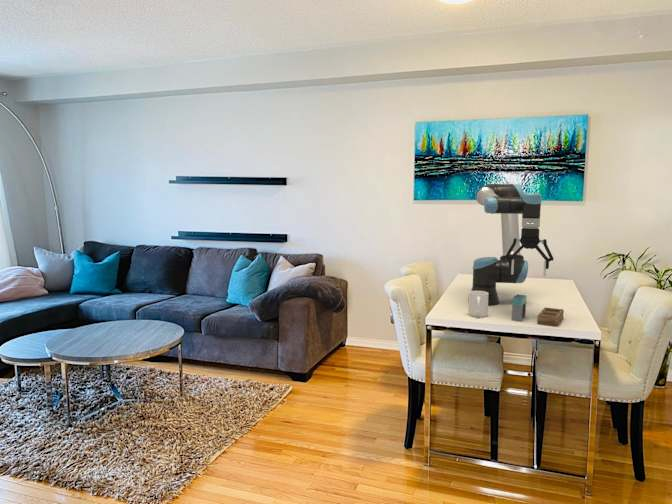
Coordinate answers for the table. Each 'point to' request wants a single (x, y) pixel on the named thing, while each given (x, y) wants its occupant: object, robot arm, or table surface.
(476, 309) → the mug
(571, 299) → the table surface
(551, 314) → the brown wooden frame
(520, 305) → the tall teal block
